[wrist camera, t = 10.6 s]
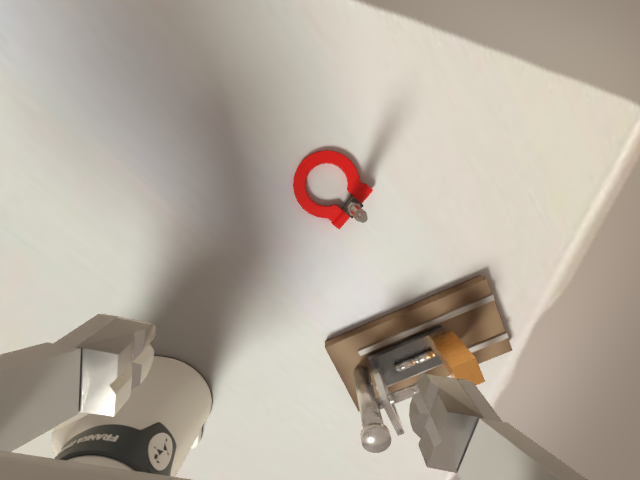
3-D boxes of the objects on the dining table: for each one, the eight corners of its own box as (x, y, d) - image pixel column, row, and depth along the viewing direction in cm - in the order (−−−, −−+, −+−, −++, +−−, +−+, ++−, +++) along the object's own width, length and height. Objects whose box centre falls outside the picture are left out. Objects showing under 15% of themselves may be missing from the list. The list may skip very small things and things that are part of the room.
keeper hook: (355, 385, 44) (368, 456, 33) (346, 368, 43) (357, 435, 32) (412, 362, 43) (445, 427, 32) (404, 344, 42) (435, 404, 31)
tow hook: (281, 188, 39) (335, 233, 40) (259, 193, 26) (339, 258, 27) (322, 137, 38) (377, 185, 39) (320, 115, 25) (402, 187, 26)
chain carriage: (381, 383, 43) (397, 435, 35) (367, 355, 42) (380, 401, 34) (459, 351, 42) (495, 397, 34) (447, 321, 41) (481, 361, 32)
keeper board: (357, 404, 46) (359, 413, 44) (324, 341, 44) (325, 348, 42) (505, 344, 44) (513, 351, 42) (480, 275, 41) (487, 279, 40)
